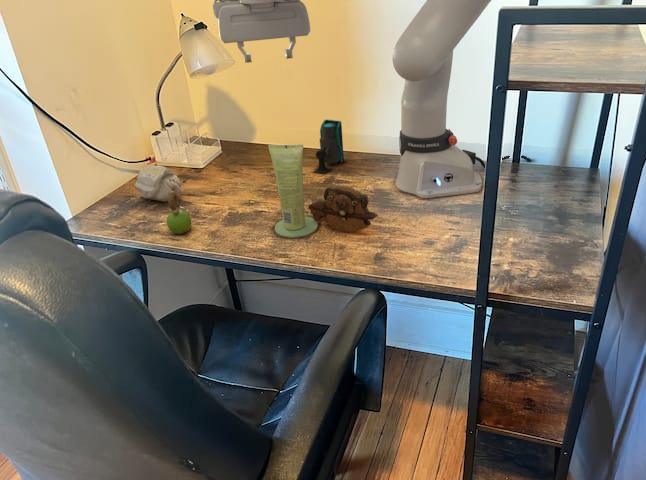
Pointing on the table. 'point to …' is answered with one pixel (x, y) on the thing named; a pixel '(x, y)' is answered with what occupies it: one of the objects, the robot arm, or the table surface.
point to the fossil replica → (156, 182)
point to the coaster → (306, 230)
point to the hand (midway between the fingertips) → (268, 60)
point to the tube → (289, 183)
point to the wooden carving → (343, 209)
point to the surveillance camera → (330, 145)
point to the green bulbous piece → (177, 213)
